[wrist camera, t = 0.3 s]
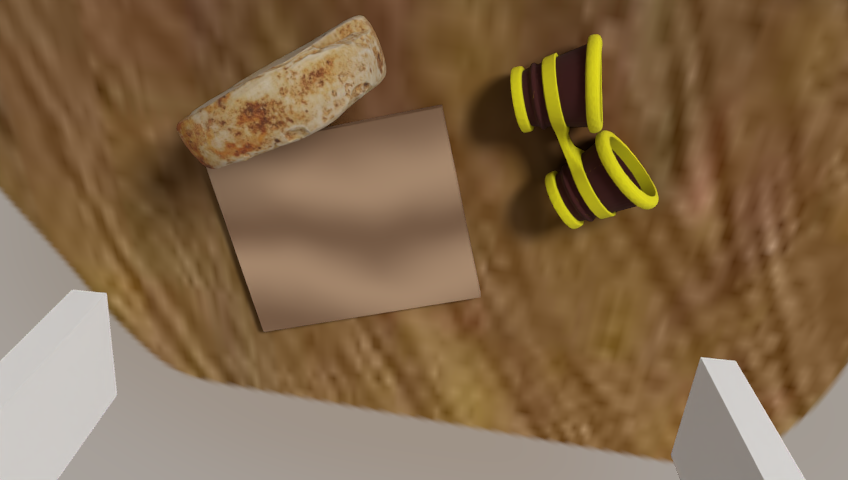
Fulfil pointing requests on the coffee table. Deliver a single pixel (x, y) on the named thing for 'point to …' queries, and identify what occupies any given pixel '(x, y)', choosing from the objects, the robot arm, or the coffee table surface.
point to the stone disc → (287, 97)
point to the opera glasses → (587, 170)
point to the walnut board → (350, 221)
